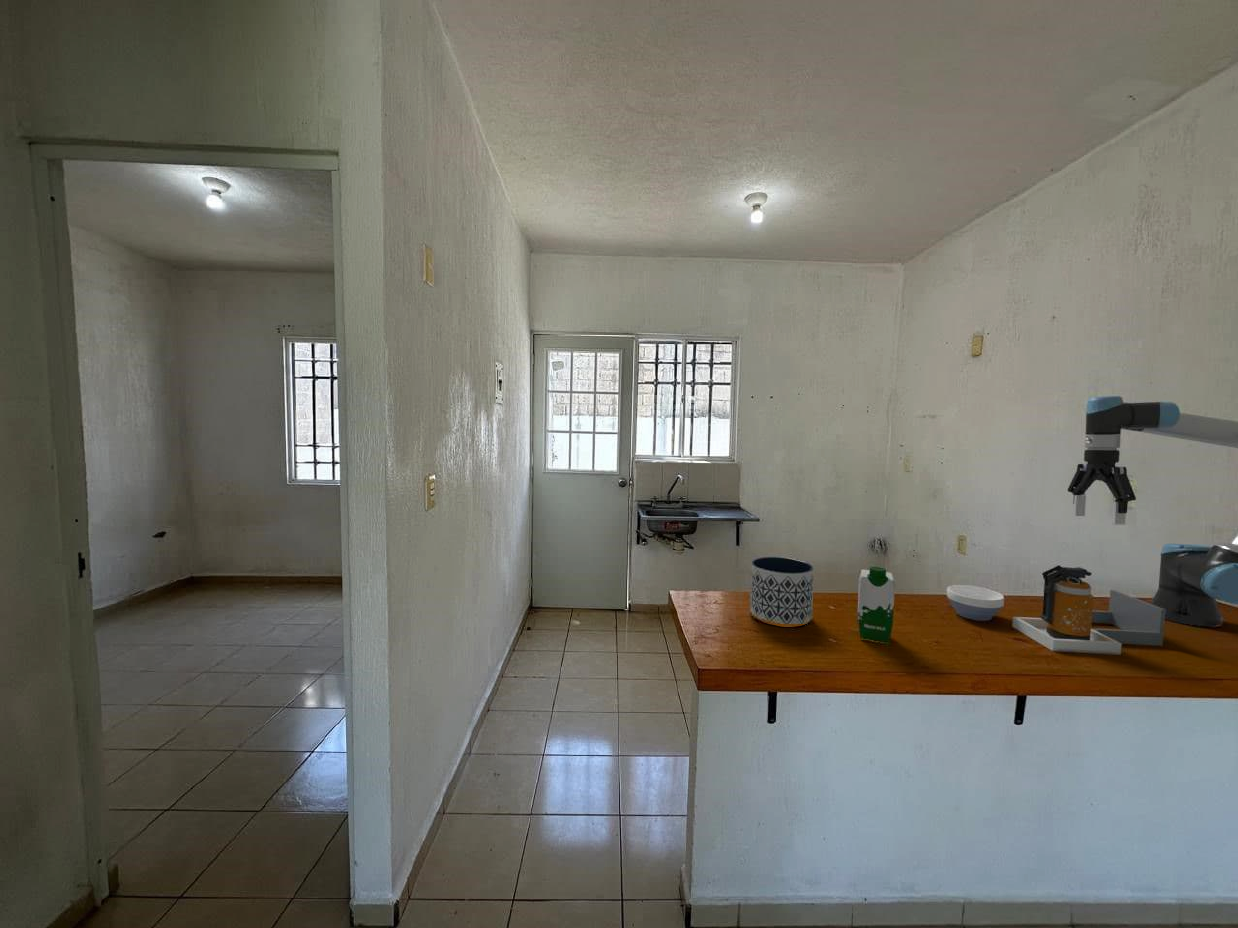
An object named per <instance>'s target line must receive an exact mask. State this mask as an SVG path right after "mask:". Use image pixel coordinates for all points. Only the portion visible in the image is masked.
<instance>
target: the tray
mask: <svg viewBox="0 0 1238 928" xmlns="http://www.w3.org/2000/svg"><path fill="white" fill-rule="evenodd" d="M1012 628H1014V629H1015V630H1017V631H1019V632H1021V633H1022V634H1024V635H1025V636H1027V637H1029V638H1030V639H1032V640H1034V641H1035V642H1037V643H1039V644H1040V645H1042V646H1044V647H1046V648H1047V649H1048V650H1050V651H1052V652H1063V653H1065V652H1066V653H1079V654H1080V653H1084V654H1085V653H1086V654H1096V655H1097V654H1100V655H1101V654H1102V655H1114V656H1115V655H1117V656H1121V654H1122V645H1123V644H1122V643H1119V642H1117V641H1115V640H1113V639H1111V638H1109V637H1107V636H1105V635H1103V634H1101V633H1099V632H1097V631H1095V630H1094V629H1093V628H1091V634H1090V640H1073V639H1058V638H1055V637H1054V636H1052V635H1050V634H1048V633H1047V632H1046V629H1047V622H1046V621H1044V620H1043V619H1041V618H1040V617H1025V616H1024V617H1023V616H1012Z"/></svg>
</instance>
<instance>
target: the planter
mask: <svg viewBox="0 0 1238 928" xmlns="http://www.w3.org/2000/svg"><path fill="white" fill-rule="evenodd" d="M750 564H751V565H750V591H749V592H750V595H749V596H750V597H749V598H750V599H749V612H750V611H751V612H752V614H754V615H755V616H756V617H758V618H760V619H765V620H767V621H771V622H775V623H780V624H796V625H797V624H804V623H807V622H809V621H810V620H811V619H812V620H813V601H814V600H813V599H814V598H813V597H814V577H815V576H814V569H815V568H814V566H813V565H812V564H811V563H809V562H807V561H803V560H801V559H796V558H791V557H790V558H789V557H780V556H763V557H757V558H755V559H752V560H751V563H750Z"/></svg>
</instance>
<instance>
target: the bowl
mask: <svg viewBox="0 0 1238 928" xmlns="http://www.w3.org/2000/svg"><path fill="white" fill-rule="evenodd" d="M946 597H947V598H948V600H949V602H950V604H951V606H952V608H953V609H954V610H955V612H956V614H957V615H959V616H961V617H962V618H965V619H967V620H971V619H972V621H977V622H987V621H991V620H992V619H993V617H995V616H996V615H998V613H999V612H1000V611H1001V610H1002V608H1003V607H1004V604H1005V596H1004V595H1003V594H1002V593H999V592H998V591H995V590H992V589H989V588H985V587H980V586H974V585H965V584H955V585H949V586H948V587H947V588H946Z"/></svg>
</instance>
